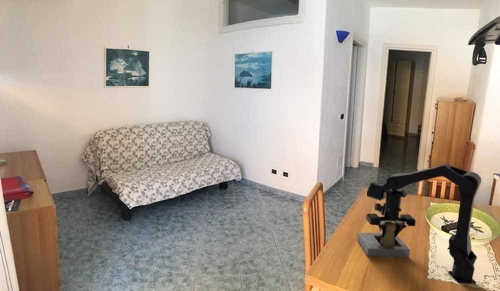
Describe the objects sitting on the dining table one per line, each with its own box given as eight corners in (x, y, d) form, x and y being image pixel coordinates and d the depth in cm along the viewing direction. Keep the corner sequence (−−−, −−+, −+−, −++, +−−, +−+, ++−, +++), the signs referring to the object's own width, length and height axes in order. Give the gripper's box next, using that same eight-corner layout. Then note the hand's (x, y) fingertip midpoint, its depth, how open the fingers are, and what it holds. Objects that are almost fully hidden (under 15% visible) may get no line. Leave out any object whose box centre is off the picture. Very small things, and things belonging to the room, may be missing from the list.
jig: (408, 257, 128) (409, 249, 128) (367, 256, 128) (368, 248, 128) (394, 240, 141) (395, 233, 140) (356, 239, 141) (357, 232, 140)
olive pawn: (381, 241, 139) (384, 218, 136) (396, 246, 135) (399, 222, 132) (377, 246, 134) (380, 223, 132) (392, 252, 130) (395, 227, 128)
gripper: (405, 197, 138) (401, 229, 141) (363, 195, 138) (359, 228, 141) (419, 207, 127) (413, 242, 131) (373, 206, 127) (368, 241, 131)
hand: (387, 238), depth 134 cm, fingers closed on olive pawn, 4 cm apart
